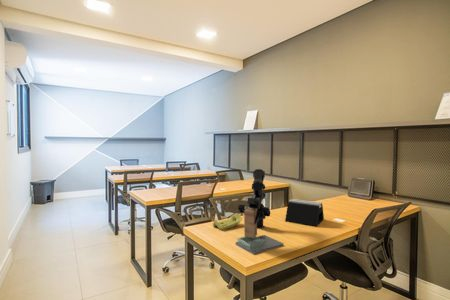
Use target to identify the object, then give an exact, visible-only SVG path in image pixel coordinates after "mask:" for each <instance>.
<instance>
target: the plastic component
mask: <svg viewBox="0 0 450 300" xmlns="http://www.w3.org/2000/svg"><path fill="white" fill-rule="evenodd" d="M241 221H242V216H241V215H240V214H239V213H238V212H236V213H235V214H234V215H231V216H229V218H227V219H223V220H221V221H218V220H217V219H214V220H213V223H212V226H213V227H217V228H218V229H219V230H221V231H225V230H228V229H231V228H234V227H235V226H237V225H238V224H239V223H241Z"/></svg>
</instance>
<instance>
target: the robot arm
mask: <svg viewBox="0 0 450 300" xmlns="http://www.w3.org/2000/svg"><path fill="white" fill-rule="evenodd" d="M265 174H266V171H264V170H263V169H261V168H257V169H255V170H253V171H252V178H253V183H252V184H251V190H252V197H247V200H246V204H248V206H246V205H245V204H243V203H239V204H238V205H237V209H238V211H239V213H242V214H244V210H246V209H247V208H253V209H257V216H256V219H255V224H256V223H257V229H262V228H265V226H266V225H264V220H265V219H266V217H270V216H271V211H270V208H269V207H268V206H263V203H262V200H263V197H264V190H265V189H266V185H265V183H264V180H265V177H266V175H265Z"/></svg>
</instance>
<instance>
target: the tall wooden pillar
mask: <svg viewBox="0 0 450 300" xmlns="http://www.w3.org/2000/svg"><path fill="white" fill-rule="evenodd" d="M243 215H244V217H243V218H244V222H243V223H244V237H250V238H254V237H255V236H256V237H257V235H258V228H257V223H256V224H255V219H256V216H257V209H253V208H247V209H246V210H244V213H243Z"/></svg>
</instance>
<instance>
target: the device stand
mask: <svg viewBox="0 0 450 300" xmlns="http://www.w3.org/2000/svg"><path fill="white" fill-rule="evenodd" d="M286 207H287V208H286V214H285V219H284V221H285V222H286V223H292V224H298V225H303V226H307V227H308V226H309V227H315V228H317V227H318V226H319V225H320V224H321V223H322V222H323V221H324V219H325V217H324V208H323V207H324V206H323V202H318V201H313V200H312V201H311V200H303V199H298V198H297V199H295V198H291V199H289V201H288V202H287V206H286Z"/></svg>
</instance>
